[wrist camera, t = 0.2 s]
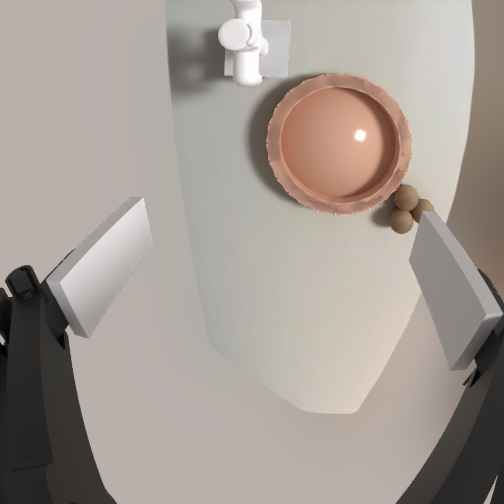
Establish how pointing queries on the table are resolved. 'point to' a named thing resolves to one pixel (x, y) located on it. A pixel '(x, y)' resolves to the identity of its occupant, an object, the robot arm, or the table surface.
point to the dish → (339, 144)
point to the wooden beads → (407, 209)
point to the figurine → (254, 45)
